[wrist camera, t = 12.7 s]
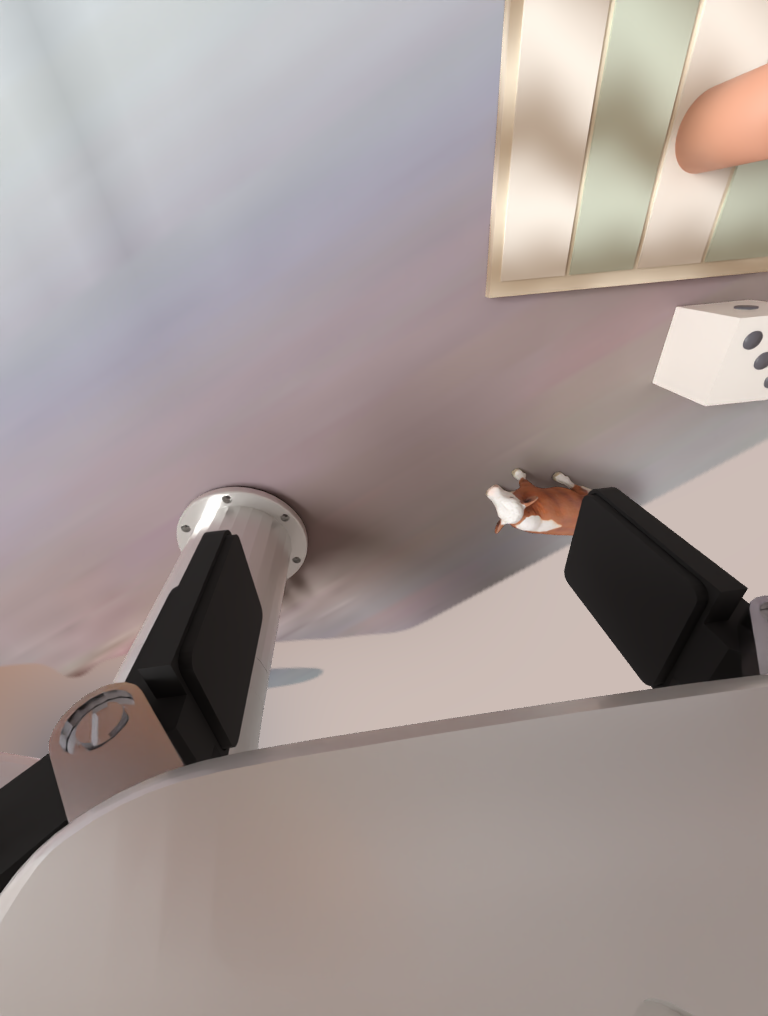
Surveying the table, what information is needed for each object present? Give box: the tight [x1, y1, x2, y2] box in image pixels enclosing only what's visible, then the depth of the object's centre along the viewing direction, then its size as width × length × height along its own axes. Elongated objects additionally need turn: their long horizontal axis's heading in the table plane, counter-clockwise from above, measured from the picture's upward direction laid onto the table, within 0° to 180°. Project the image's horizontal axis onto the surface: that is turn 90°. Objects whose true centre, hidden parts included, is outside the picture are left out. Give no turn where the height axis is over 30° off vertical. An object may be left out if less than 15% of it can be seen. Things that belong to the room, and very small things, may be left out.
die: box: [652, 300, 768, 406], centre depth 30 cm, size 6×6×6 cm
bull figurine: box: [486, 468, 591, 535], centre depth 35 cm, size 4×13×8 cm, turn 75°
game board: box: [485, 0, 768, 298], centre depth 24 cm, size 16×21×1 cm
